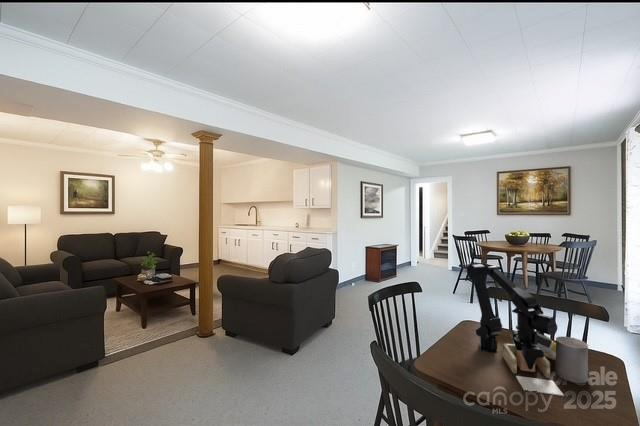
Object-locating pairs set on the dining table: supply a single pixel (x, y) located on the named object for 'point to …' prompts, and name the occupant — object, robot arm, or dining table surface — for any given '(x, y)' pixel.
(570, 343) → the pillar candle
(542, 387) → the cream mat
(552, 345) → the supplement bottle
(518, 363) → the terracotta block
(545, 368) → the open front box
